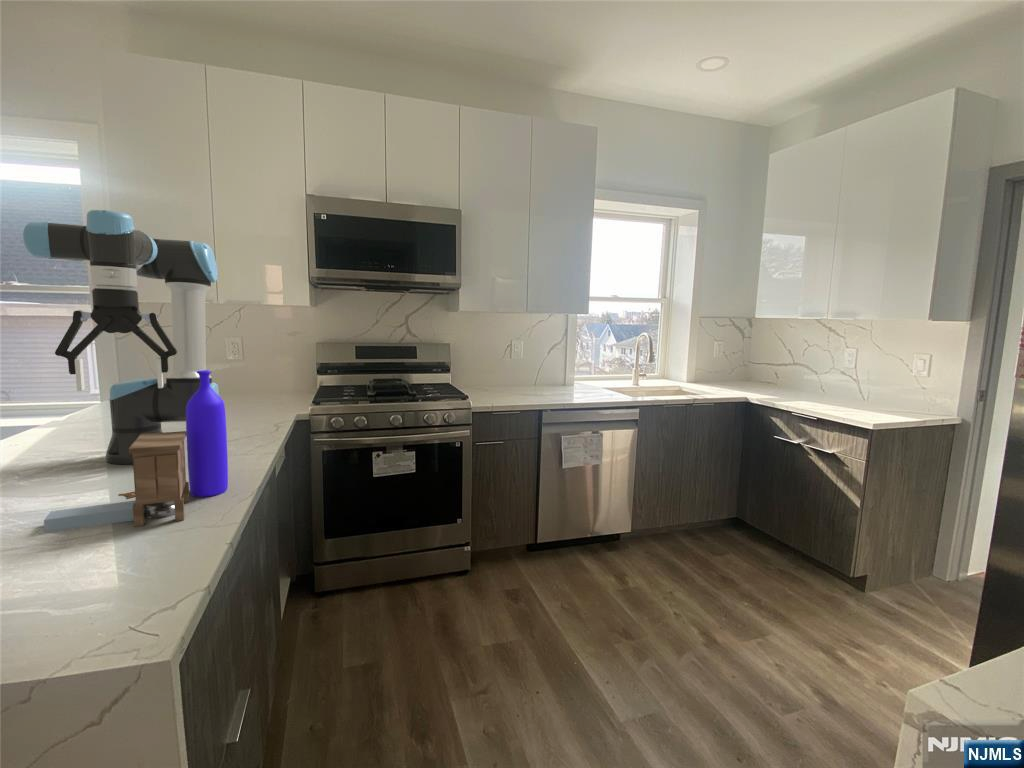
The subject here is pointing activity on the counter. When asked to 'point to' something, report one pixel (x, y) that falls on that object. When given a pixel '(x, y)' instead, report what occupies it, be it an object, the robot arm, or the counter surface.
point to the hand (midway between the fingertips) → (122, 388)
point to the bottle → (206, 441)
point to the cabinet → (159, 472)
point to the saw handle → (128, 495)
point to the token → (160, 509)
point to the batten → (89, 516)
